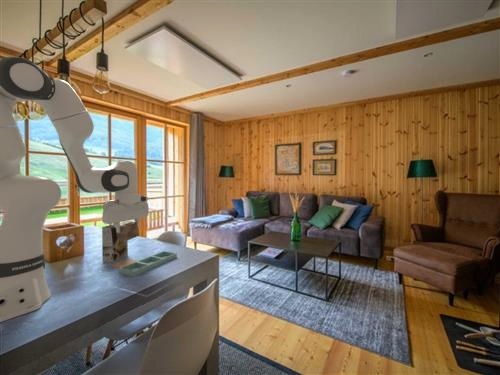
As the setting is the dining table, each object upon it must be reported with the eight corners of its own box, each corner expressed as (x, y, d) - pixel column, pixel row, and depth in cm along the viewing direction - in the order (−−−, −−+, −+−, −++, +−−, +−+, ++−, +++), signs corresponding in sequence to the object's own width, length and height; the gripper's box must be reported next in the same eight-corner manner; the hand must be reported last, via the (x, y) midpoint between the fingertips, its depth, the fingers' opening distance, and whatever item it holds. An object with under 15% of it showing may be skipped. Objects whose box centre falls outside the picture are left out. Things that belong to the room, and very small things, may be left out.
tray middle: (149, 270, 98) (149, 264, 98) (136, 267, 101) (136, 261, 101) (164, 263, 105) (164, 258, 105) (150, 261, 108) (150, 256, 108)
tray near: (133, 277, 90) (133, 271, 90) (119, 274, 94) (118, 268, 94) (149, 270, 98) (149, 264, 98) (136, 267, 101) (136, 261, 101)
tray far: (164, 263, 105) (164, 258, 105) (150, 261, 108) (150, 256, 108) (176, 258, 112) (176, 253, 112) (163, 255, 116) (163, 251, 115)
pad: (125, 270, 97) (125, 268, 97) (111, 267, 101) (111, 265, 101) (143, 263, 105) (143, 261, 105) (129, 260, 109) (129, 258, 109)
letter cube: (127, 240, 99) (125, 226, 98) (117, 238, 102) (115, 224, 100) (139, 235, 105) (137, 222, 103) (129, 233, 107) (127, 220, 106)
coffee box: (114, 263, 106) (113, 227, 105) (101, 262, 107) (101, 226, 106) (128, 256, 114) (128, 223, 114) (117, 255, 116) (116, 222, 115)
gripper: (108, 201, 91) (109, 236, 92) (150, 197, 110) (151, 226, 110) (97, 200, 93) (98, 235, 94) (140, 196, 112) (141, 225, 113)
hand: (127, 230), depth 102 cm, fingers closed on letter cube, 6 cm apart
